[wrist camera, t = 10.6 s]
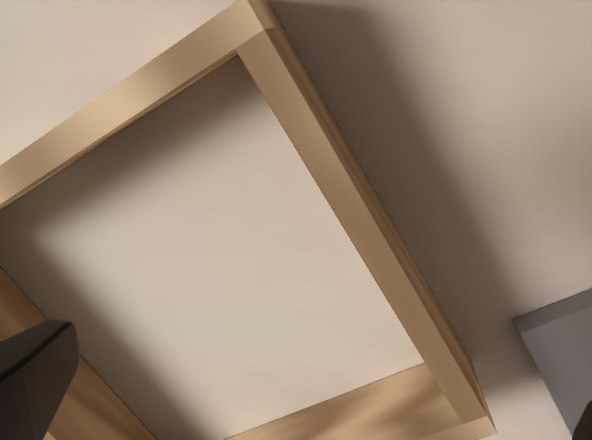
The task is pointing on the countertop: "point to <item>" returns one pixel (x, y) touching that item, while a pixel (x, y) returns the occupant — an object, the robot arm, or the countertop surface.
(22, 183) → the open wooden tray
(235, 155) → the countertop surface
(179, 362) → the countertop surface
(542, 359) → the slate tile
